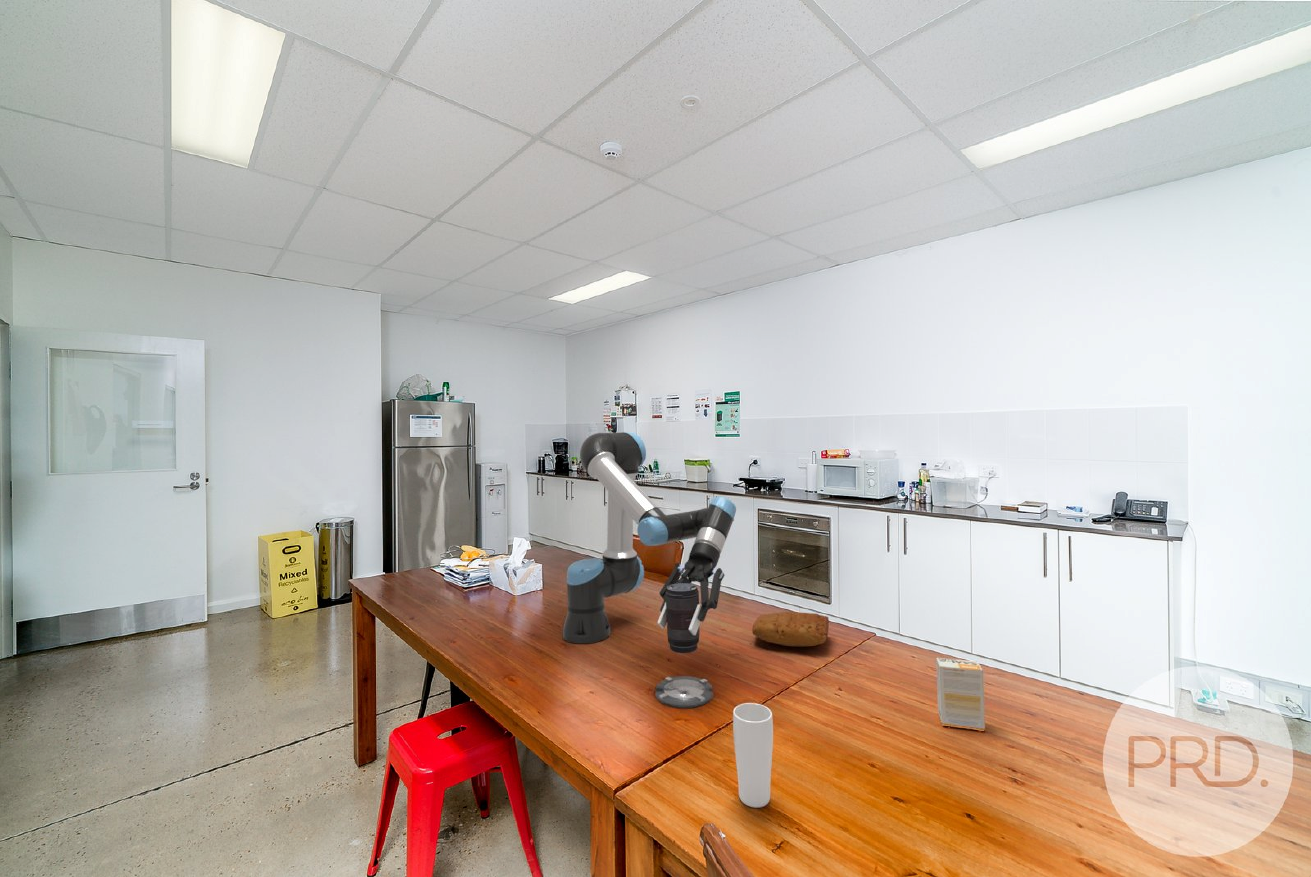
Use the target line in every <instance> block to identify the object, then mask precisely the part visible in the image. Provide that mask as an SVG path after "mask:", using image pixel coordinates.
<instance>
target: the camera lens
mask: <svg viewBox="0 0 1311 877" xmlns="http://www.w3.org/2000/svg"><path fill="white" fill-rule="evenodd" d="M699 593H700V592H699V589H698V585H696V584H694V583H690V584H689V583H678V584H672V585H669V586H667V590H666V609H667V623H666V636H667V642H668V644H669V649H670V650H671V651H672V652H673V653H676V654H691V653H693V652H695V651H697V649H698V644H699V642H700V626H699V627H698V630H697V633H696V635H693V634H692V633H691V632H690V631H689V626H690V624H691V621H692V618H693V616H694V613H695V610H696V608H697V605H698V604H699V605H700V594H699Z"/></svg>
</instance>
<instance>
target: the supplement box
mask: <svg viewBox="0 0 1311 877" xmlns="http://www.w3.org/2000/svg"><path fill="white" fill-rule="evenodd" d="M935 661H936V662H935V664H936V687H937V690H936V691H937V714H939V716H938V718H939V717H940V719H939V721H940V720H941V721H940V723H941V722H942V724H944V725H950V726H951V725H953V726H962V727H970V728H976V729H980V730H985V731H986V713H985V711H986V710H985V687H984V686H985V685H984V670H983V668H982V667H981V665H980V663H979V662H978V661H975V660H965V659H954V658H945V657H936V660H935ZM942 724H941V725H942Z"/></svg>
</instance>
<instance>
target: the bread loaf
mask: <svg viewBox="0 0 1311 877" xmlns="http://www.w3.org/2000/svg"><path fill="white" fill-rule="evenodd" d="M829 623H830V619H829V616H825V615H821V614H818V613H814V612H813V613H812V612H811V613H810V612H809V613H808V612H802V611H801V612H796V611H795V612H793V611H784V612H783V611H781V612H774V613H768V614H761V615H760V616H758V617H757V618H756V619H755V621H754V622H753V625H752V630H751V631H752V635H753V636H755V637H757V638H759V639H760V640H762V641H765V642H767V643H770V644H771V643H772V644H777V645H781V646H785V647H786V646H787V647H813V646H814V647H815V646H817V645H822V644H824V643H826V641H827V638H828V636H829V626H830V624H829Z"/></svg>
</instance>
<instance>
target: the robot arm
mask: <svg viewBox="0 0 1311 877" xmlns="http://www.w3.org/2000/svg"><path fill="white" fill-rule="evenodd" d="M579 458H580V463H581V466H582V467H583V469H584V471H585V472H586V473H587V474H588V475H589V477H591V478H594V479H597V480H598V482H599V483H600V484H601V485H602V487H604V488H605V490H607V529H606V531H607V534H606V536H607V537H606V541H607V542H606V544H607V545H606V549H605V550H604V551H603V552H602V559H601V558H597V557H593V558H592V557H591V558H584V559H580V560H577V561H574V562H572V563H571V564H570V565H569V566H568V568H567V571H566V572H567V573H566V575H567V576H566V584H567V589H566V590H567V591H566V592H567V596H566V597H567V613H566V614H567V615H566V618H565V621H564V624H563V628H562V638H563V640H564V641H566V642H569V643H572V644H593V643H598V642H601V640H602V641H604V640H606V639H607V637H608V636H609V637H610V636H611V625H610V622H609V619H608V616H607V614H606V610H605V599H606V598H609V597H614V596H618V595H622V594H628V593H630V592H632V591H635V590H637V589H638V588H639V587H640V586H641V584H642V582H643V580H644V576H645V568H644V565H643V564H642V563H643V562H642V560H641V558H640V557H639V556H638V553H637V551H636V550H635V549H634V546H633V545H634V544H633V541H634V539H633V538H634V522H635V524H636V525H637V528H636V529H637V536H638V537H639V542H641V544H643V545H645V546H647V547H652V546H662V545H665V544H668V543H669V544H670V543H674V542H680V541H684V540H689V539H694V538H695V540H694V542H693V545H692V547H691V549H690V552H689V554H688V560H687V561H686V562H685V563H683V564H680V563H679V562H675V563H674V566H673V570H672V572H671V573H670V575H669V576H668V578H667V580H666V582H665V583H664V585H663V586H662V588H661V589H660V591H659V596H660V597H661V598H662V599H663V602H662V603H661V606H660V610H659V611H660V615H659V617H658V620H657V625H659V627H660V628H661V629H664V630H665V629H666V627H667V609H666V590H667V586H669V585H672V584H678V583H689V584H692V583H693V582H698V583H699V586H700V587H699V588H700V601H699V604H698V605H697V608H696V610H695V613H694V616H693V618H692V621H691V624H690V626H689V631H690V632H691V633H692V634H693V635H696V633H697V630H698V627H699V628H700V625H701V622H704V621H705V619H706V617H707V613H708V610H710V609H713V610H716V609H718V604H719V598H720V597H719V596H720V591H721V585H722V581H723V579H724V577H725V573H724V571H723V569H722V568H720V567H718V568H717V566H718V562H719V559H720V557H721V554H722V551H723V549H724V546H725V543H726V541H727V538H728V535H729V533H730V530H731V527H732V525H733V522H734V521H735V516H736V511H737V507H736V505H735V503H734V502H732V500H730V499H729V498H727V497H724V496H715V497H714V498H712V500H711V501H710V503H709V505H708V506H707V507H704V508H701V509H696V510H690V511H685V512H678V513H672V514H665V513H664V511H662V510H661V509H660V507H658V506H657V504H656V503H654V502H655V501H653V500H652V499H651V498H650V497H649V496H648V495H647V494H646V493H645V491H643V490H642V489H641V488H640V486H639V485H638V484H637V483H636V482H635V477H636V476H638V474H639V467H641V466H642V465H643V464H644V462H645V461H646V458H647V449H646V445H645V443H644V441H643V440H642V439H641V437H640V436H639V435H638V434H636V433H634V432H625V431H624V432H623V431H622V432H597V433H593V434H591V435H590V436H588V437H587V438H586V439H585V440H584V441H583V443H582V444H581V447H580V451H579ZM711 577H712V581H711V582H712V583H711V588H710V593H709V586H710V585H709V584H710V583H709V578H711ZM609 637H608V638H609Z"/></svg>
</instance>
